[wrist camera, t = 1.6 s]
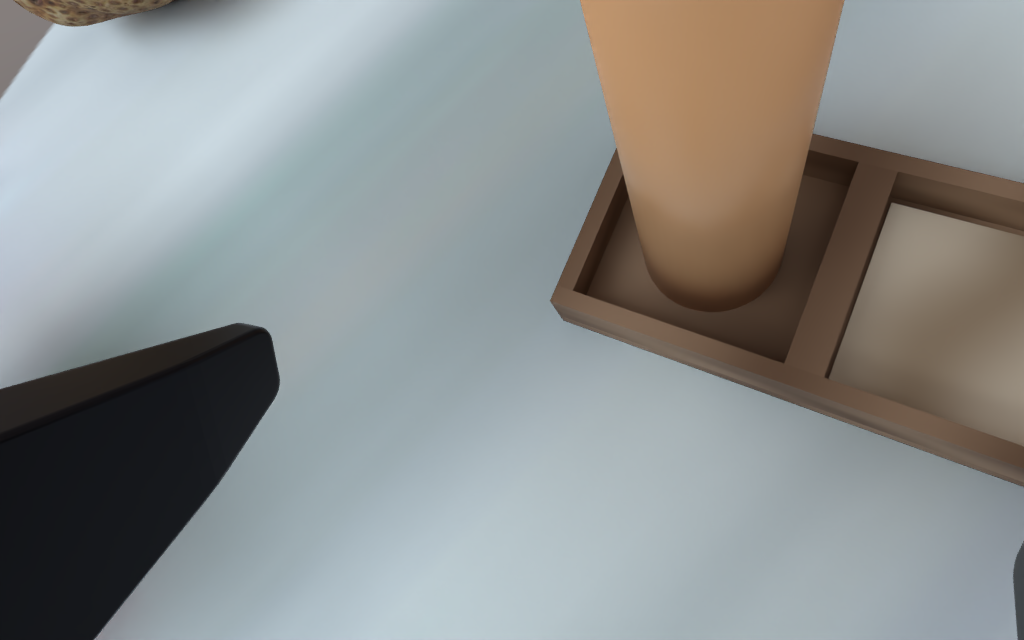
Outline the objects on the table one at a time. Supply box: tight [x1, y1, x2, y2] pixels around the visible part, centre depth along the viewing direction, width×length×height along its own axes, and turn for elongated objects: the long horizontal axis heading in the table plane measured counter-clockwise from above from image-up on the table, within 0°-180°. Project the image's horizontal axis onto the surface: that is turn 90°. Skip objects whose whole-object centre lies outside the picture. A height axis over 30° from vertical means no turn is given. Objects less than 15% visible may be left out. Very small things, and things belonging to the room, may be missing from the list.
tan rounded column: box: [580, 0, 844, 312], centre depth 14 cm, size 4×4×16 cm
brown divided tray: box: [550, 134, 1024, 487], centre depth 20 cm, size 14×7×2 cm, turn 66°
